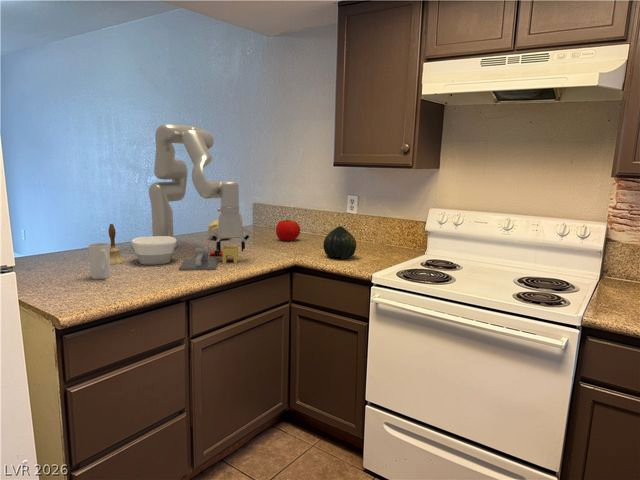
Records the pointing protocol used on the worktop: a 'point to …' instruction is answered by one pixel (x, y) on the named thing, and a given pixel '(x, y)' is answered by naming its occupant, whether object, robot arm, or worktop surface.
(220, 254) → the tow hook
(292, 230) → the tomato
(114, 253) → the hand bell
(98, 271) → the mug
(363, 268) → the worktop surface
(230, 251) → the notched yellow block
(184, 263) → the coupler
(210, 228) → the sculpture
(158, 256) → the bowl
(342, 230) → the squash
